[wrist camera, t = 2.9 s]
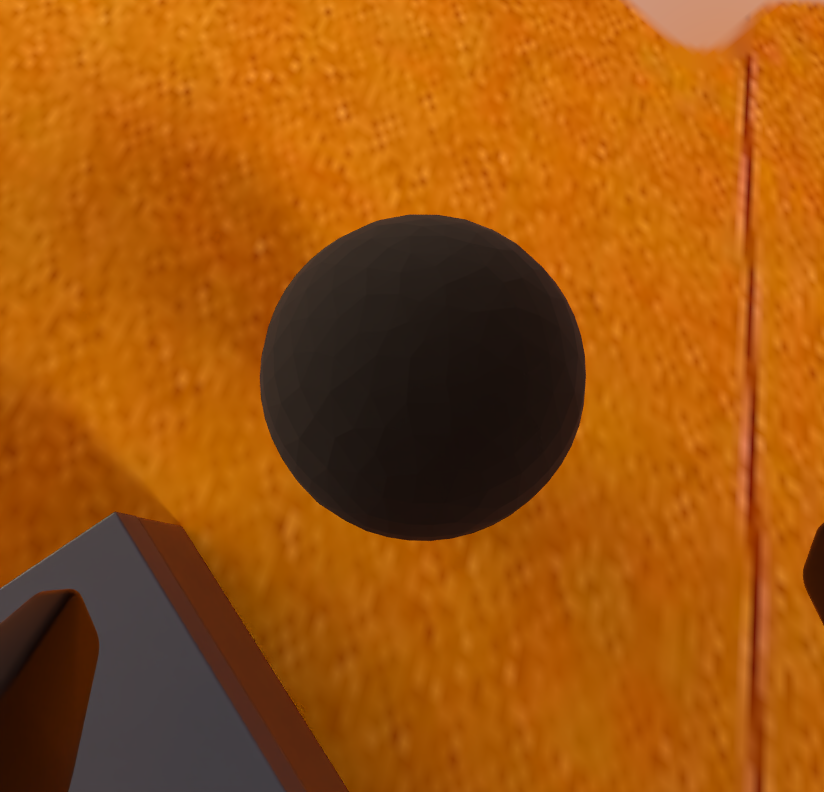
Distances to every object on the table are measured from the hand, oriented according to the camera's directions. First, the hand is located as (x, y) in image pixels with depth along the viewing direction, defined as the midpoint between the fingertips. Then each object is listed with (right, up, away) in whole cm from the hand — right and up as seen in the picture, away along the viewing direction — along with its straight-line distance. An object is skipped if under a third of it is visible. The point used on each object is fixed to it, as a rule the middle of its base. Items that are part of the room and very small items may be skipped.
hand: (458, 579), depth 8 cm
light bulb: (-1, +1, +11) cm, 11 cm away
